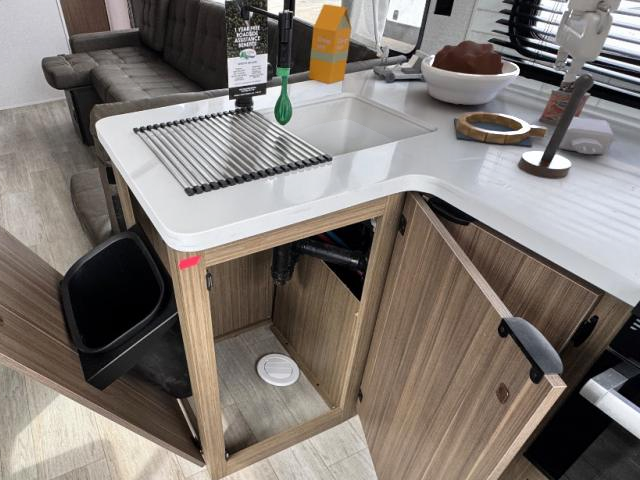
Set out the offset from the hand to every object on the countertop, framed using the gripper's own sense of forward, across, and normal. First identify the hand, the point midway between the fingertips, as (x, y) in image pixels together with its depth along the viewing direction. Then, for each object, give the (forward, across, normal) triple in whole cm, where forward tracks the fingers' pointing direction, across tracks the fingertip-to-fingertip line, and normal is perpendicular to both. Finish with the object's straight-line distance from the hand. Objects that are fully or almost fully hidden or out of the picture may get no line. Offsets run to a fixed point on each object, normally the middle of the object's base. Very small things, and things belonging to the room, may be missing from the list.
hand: (562, 75), depth 94 cm
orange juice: (+13, +36, +56) cm, 68 cm away
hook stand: (+14, -19, +2) cm, 23 cm away
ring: (+13, 0, +8) cm, 15 cm away
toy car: (+13, +45, +34) cm, 58 cm away
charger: (+14, -5, -8) cm, 17 cm away
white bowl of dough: (+13, +25, +16) cm, 33 cm away
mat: (+13, 0, +10) cm, 17 cm away
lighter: (+14, +13, -7) cm, 20 cm away
